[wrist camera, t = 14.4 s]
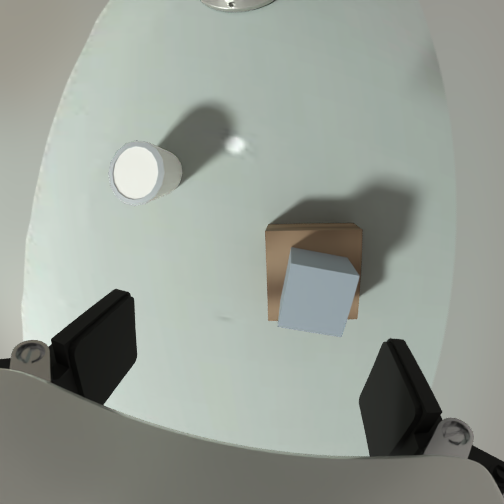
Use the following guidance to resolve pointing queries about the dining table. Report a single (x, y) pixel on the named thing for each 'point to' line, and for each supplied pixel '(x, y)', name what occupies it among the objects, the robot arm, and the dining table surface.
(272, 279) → the walnut block
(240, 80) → the dining table surface
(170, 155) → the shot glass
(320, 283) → the slate cube
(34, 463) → the robot arm
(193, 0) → the dining table surface
